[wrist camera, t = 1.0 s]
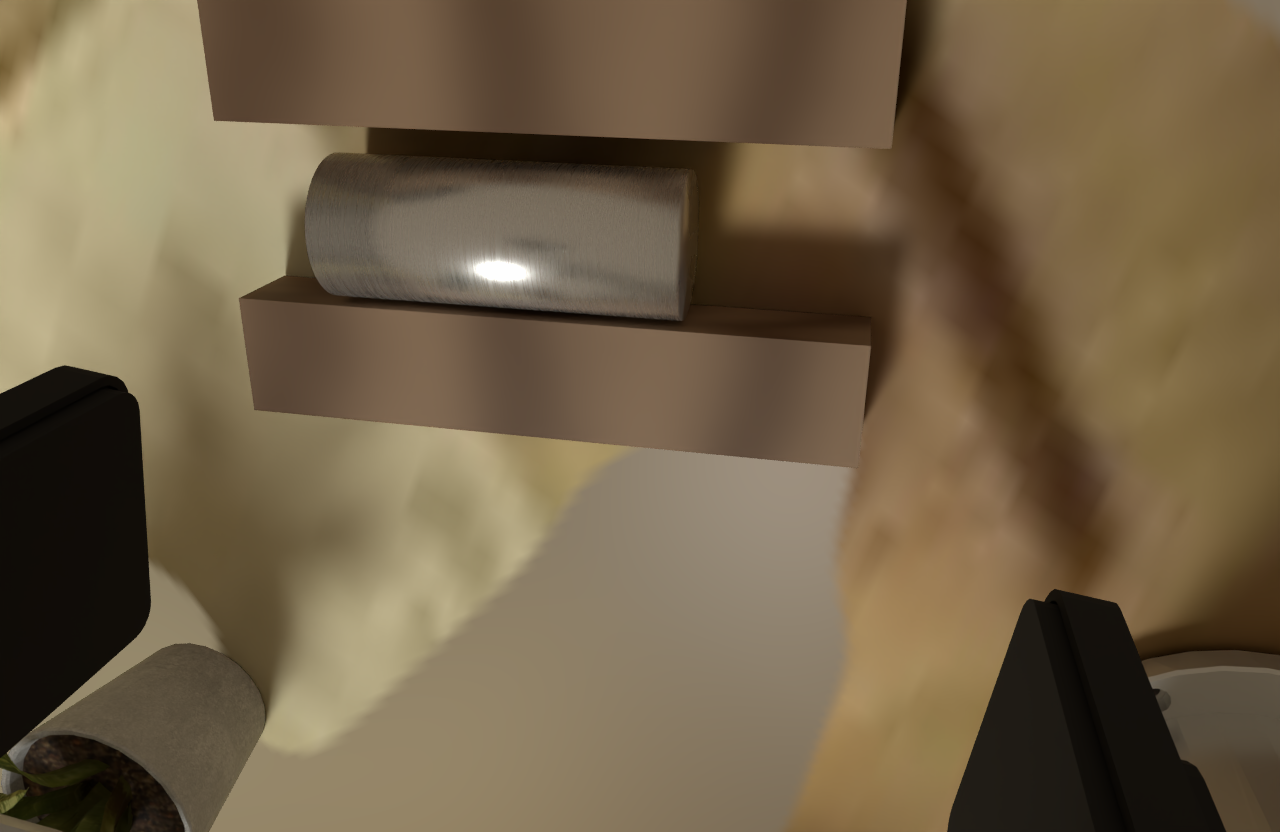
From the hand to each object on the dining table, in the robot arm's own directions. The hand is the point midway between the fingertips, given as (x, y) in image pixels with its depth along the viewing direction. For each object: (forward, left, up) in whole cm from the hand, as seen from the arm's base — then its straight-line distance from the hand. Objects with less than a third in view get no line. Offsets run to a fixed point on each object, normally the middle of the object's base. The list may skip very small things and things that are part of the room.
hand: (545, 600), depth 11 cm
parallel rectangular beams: (+5, 0, -20) cm, 21 cm away
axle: (+6, 0, -20) cm, 21 cm away
